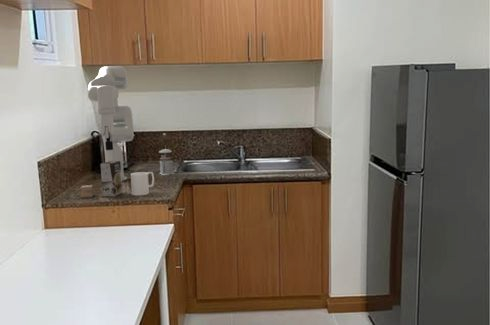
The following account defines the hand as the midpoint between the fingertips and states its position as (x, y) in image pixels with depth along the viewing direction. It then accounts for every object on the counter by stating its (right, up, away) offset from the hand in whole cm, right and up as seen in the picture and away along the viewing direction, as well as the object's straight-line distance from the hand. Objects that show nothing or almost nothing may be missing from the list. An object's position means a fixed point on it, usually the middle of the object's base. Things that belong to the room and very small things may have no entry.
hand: (109, 149), depth 227 cm
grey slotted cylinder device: (+17, -13, +60) cm, 64 cm away
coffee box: (+1, -22, +3) cm, 22 cm away
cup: (+16, -21, +5) cm, 27 cm away
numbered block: (-11, -23, +2) cm, 25 cm away
